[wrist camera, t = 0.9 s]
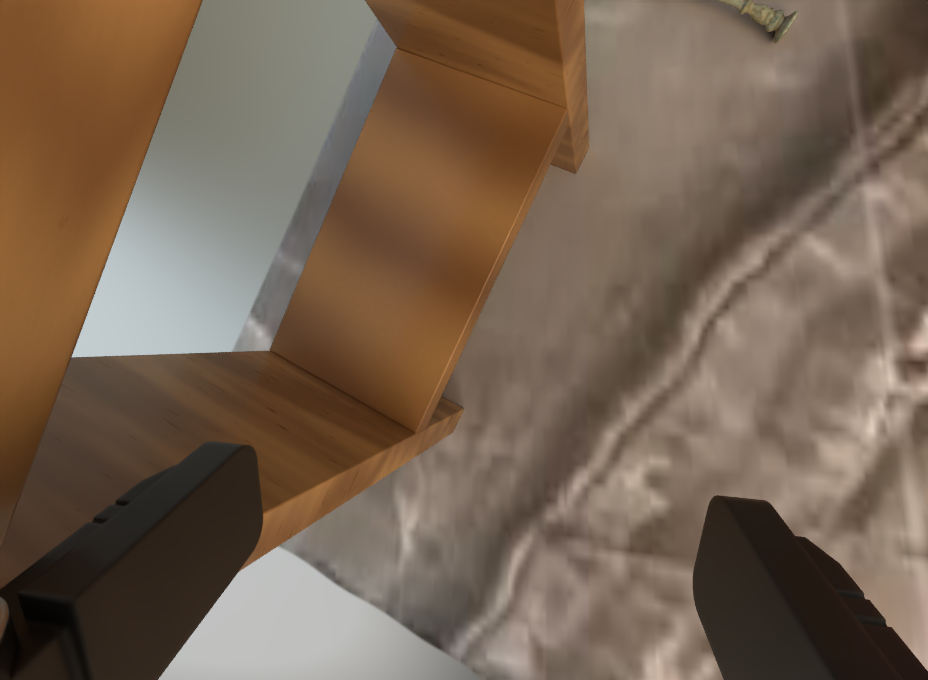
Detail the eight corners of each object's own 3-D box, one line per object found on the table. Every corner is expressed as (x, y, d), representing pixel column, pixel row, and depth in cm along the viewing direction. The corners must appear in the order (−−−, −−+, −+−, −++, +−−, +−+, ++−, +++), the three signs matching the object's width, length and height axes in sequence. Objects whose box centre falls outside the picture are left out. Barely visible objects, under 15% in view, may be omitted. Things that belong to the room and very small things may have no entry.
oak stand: (460, 98, 35) (-291, -1241, 5) (589, 146, 33) (528, -1753, 3) (341, 370, 38) (-627, 489, 8) (452, 433, 36) (-318, 936, 6)
